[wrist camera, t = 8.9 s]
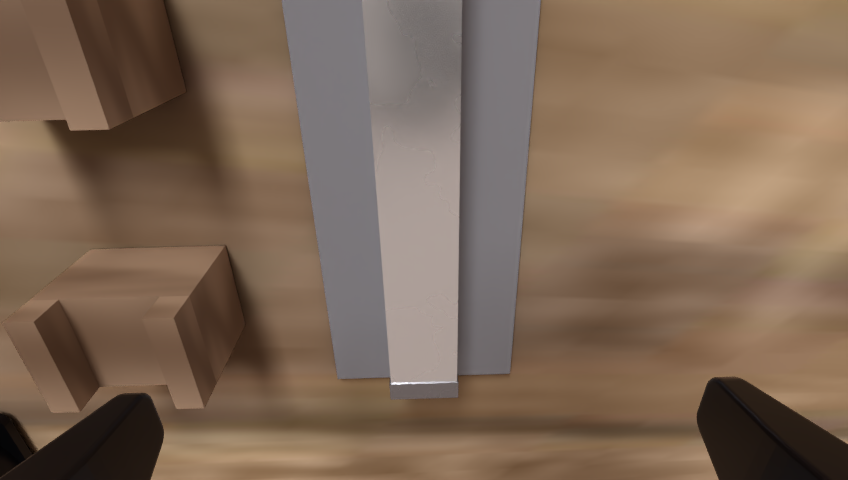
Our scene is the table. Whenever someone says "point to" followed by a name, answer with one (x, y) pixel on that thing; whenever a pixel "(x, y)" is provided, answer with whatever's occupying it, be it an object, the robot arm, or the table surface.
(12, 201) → the table surface
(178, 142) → the table surface
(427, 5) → the rail
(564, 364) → the table surface
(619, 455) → the table surface
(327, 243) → the mat
